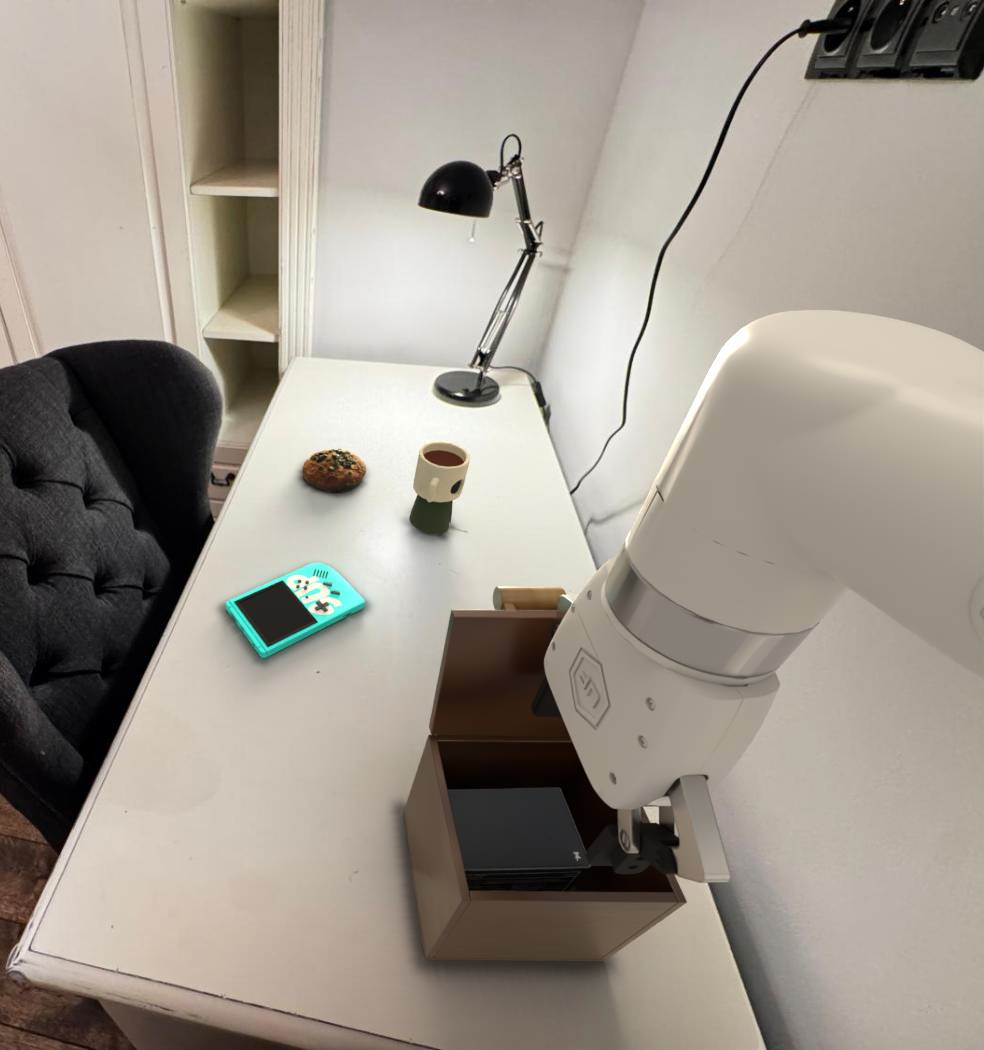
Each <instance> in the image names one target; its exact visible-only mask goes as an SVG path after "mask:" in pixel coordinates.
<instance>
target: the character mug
mask: <svg viewBox="0 0 984 1050" xmlns="http://www.w3.org/2000/svg"><path fill="white" fill-rule="evenodd" d="M417 456H418V457H417V462H416V466H415V472H414V477H413V484H412V488H413V490H414V492H415V493H416V494H417V495H416V497H415V499H414V502H413V505H412V507H411V509H410V510H411V511H410V514H409V517H408V520H409V522H410V523H409V524H410V525H412V526H413V527H414V528H415V529H416V530H419V531H421V532H423V533H426V534H430V535H433V536H434V535H442V534H444V533H446V532H447V531H449V529H450V525H451V523H452V515H453V504H454V503H453V501H455V500H457V499H459V498H460V496H461V494H462V493H463V490H464V485H465V482H466V478H467V477H466V476H467V473H468V470H469V465H470V463H471V456H470V453H469V452H468V451H467V449H465V448H464V447H462V446H460V445H459V444H456V443H452V442H450V441H443V440H439V441H437V440H436V441H430V442H426V443H424V444H423V445H422V446H421V447H420V448H419V451H418V455H417Z"/></svg>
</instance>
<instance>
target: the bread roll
mask: <svg viewBox="0 0 984 1050" xmlns="http://www.w3.org/2000/svg"><path fill="white" fill-rule="evenodd" d="M366 473H367V465H366V463H365V461H363V460H362V458H361V457H359V456H358V455H357V454H356V453H353V452H352V451H350V450H345V449H342V448H338V449H334V448H331V449H324V450H319V451H317V452H315V453H312V454H311V455H310V456H309V457H308V458H307V459H306V460H305V461H304V463H303V466H302V470H301V474H302V476H303V479H304V480H305V481H306V482H307V483H308V484H310V485H311V486H314V487H315V488H318V489H320V490H322V491H326V492H328V493H332V494H340V493H344V492H347V491H350V490H352V489H353V488H355V487H357V486H358V485H359V484H360V483H361V482H362V480H363V478H364V477H365V475H366Z"/></svg>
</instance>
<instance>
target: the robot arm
mask: <svg viewBox="0 0 984 1050" xmlns="http://www.w3.org/2000/svg"><path fill="white" fill-rule="evenodd" d="M849 590H851V591H853V592H854V593H855V594H857V595H858V596H859V597H861V598H862V599H864V600H865V601H867V602H868V603H870V604H871V605H873V606H874V607H875V608H877V609H878V610H880V612H882V613H884V614H885V615H886V616H888V617H889V618H891V619H892V620H893V621H895V622H896V623H897V624H899V625H900V626H902V627H903V628H905V629H906V630H908V631H909V632H910V633H912V634H914V635H915V636H916V637H917V638H918V639H920V640H922V641H923V642H924V643H926V644H927V645H929V646H930V647H932V648H933V649H935V650H937V651H938V652H939V653H941V654H942V655H944V656H945V657H946V658H948V659H950V660H951V661H952V662H954V663H955V664H958V665H959V666H961V667H962V668H964V669H966V670H967V671H969V672H971V673H972V674H974V675H976V676H978V677H980V678H981V679H983V680H984V350H982V349H980V348H978V347H977V346H974V345H972V344H970V343H968V342H966V341H965V340H963V339H960V338H958V337H956V336H953V335H951V334H948V333H945V332H943V331H940V330H937V329H935V328H931V327H927V326H925V325H921V324H917V323H914V322H909V321H906V320H901V319H896V318H892V317H887V316H881V315H877V314H871V313H864V312H856V311H845V310H836V309H835V310H833V309H804V310H803V309H802V310H788V311H780V312H776V313H772V314H769V315H765V316H763V317H760V318H757V319H755V320H753V321H751V322H749V323H748V324H746V325H745V326H743V327H741V328H740V329H739V330H738V331H737V332H736V333H735V334H733V335H732V336H731V337H730V338H729V340H727V341H726V343H725V344H724V345H723V346H722V348H721V349H720V351H719V353H718V354H717V356H716V358H715V360H714V362H713V363H712V365H711V367H710V369H709V370H708V372H707V375H706V376H705V378H704V380H703V382H702V384H701V386H700V388H699V390H698V392H697V395H696V397H695V398H694V400H693V403H692V404H691V407H690V408H689V410H688V413H687V414H686V417H685V419H684V421H683V423H682V425H681V426H680V428H679V431H678V433H677V435H676V437H675V439H674V440H673V443H672V444H671V447H670V449H669V451H668V453H667V455H666V457H665V459H664V461H663V463H662V465H661V467H660V469H659V471H658V473H657V475H656V477H655V479H654V481H653V483H652V485H651V488H650V490H649V492H648V494H647V496H646V498H645V500H644V502H643V504H642V506H641V508H640V510H639V512H638V514H637V516H636V519H635V520H634V523H633V525H632V527H631V528H630V530H629V532H628V534H627V537H626V538H625V540H624V542H623V544H622V546H621V548H620V550H619V551H618V554H617V555H616V556H613V557H611V558H610V559H608V560H607V561H605V563H604V564H602V565H601V566H600V567H599V569H597V571H595V572H594V574H593V575H592V576H591V577H590V578H589V580H588V581H587V582H586V583H585V584H584V586H583V587H582V589H581V590H580V592H579V593H578V594H566V595H560V596H559V598H558V606H557V616H556V620H557V621H558V625H554V626H553V628H552V630H551V636H552V641H551V643H550V645H549V647H548V649H547V652H546V655H545V658H544V668H545V673H546V676H545V677H544V679H543V681H542V683H541V686H540V688H539V690H538V692H537V694H536V696H535V698H534V700H533V702H532V705H531V709H532V712H533V714H534V715H536V716H537V717H562V718H563V720H564V723H565V725H566V728H567V730H568V732H569V735H570V737H571V740H572V742H573V744H574V747H575V749H576V751H577V754H578V756H579V758H580V761H581V763H582V765H583V768H584V770H585V772H586V774H587V776H588V779H589V781H590V783H591V784H592V786H593V788H594V790H595V791H596V792H597V794H598V795H599V797H600V798H601V799H602V800H603V801H604V802H605V803H606V804H607V805H608V806H610V807H611V808H614V809H618V824H611V825H608V826H606V827H605V828H604V830H603V831H602V832H601V833H600V835H599V836H598V837H597V838H596V840H595V841H594V842H593V843H592V844H591V846H590V847H589V848H588V849H587V853H586V857H587V859H588V862H589V864H590V865H591V866H613V868H614V871H615V873H618V874H635V873H639V872H642V871H644V870H645V869H646V868H647V867H648V866H649V865H650V864H651V865H653V866H654V867H655V868H657V869H658V870H659V871H660V872H662V873H663V874H673V875H675V877H676V876H677V877H678V878H680V879H684V880H688V881H692V882H695V883H699V884H700V883H701V884H728V883H730V882H731V878H732V874H731V870H730V865H729V862H728V858H727V854H726V851H725V847H724V843H723V838H722V836H721V831H720V827H719V825H718V819H717V817H716V813H715V809H714V805H713V802H712V798H711V794H712V793H713V792H714V791H715V790H716V789H717V788H718V787H719V786H720V785H721V783H722V782H723V781H724V780H725V779H726V778H727V776H728V775H729V774H730V773H731V772H732V770H734V767H735V766H736V765H737V764H738V762H739V761H740V759H741V758H742V757H743V756H744V754H745V753H746V751H747V749H748V748H749V747H750V745H751V744H752V742H753V740H754V739H755V737H756V735H757V734H758V732H759V731H760V729H761V727H762V725H763V723H764V721H765V720H766V717H767V716H768V713H769V712H770V710H771V708H772V706H773V703H774V702H775V699H776V696H777V694H778V692H779V690H780V686H781V682H780V679H779V677H778V675H777V671H778V670H779V668H781V666H782V665H783V664H784V663H785V662H786V661H787V660H788V659H789V658H790V657H791V655H792V654H793V653H794V652H796V650H797V648H799V647H800V645H801V644H802V643H803V642H804V641H805V639H806V638H807V637H808V636H809V635H810V634H811V633H812V632H813V631H814V629H816V627H817V626H818V625H819V624H820V623H821V621H822V620H823V619H825V617H826V616H827V615H828V613H829V612H830V611H831V610H833V608H834V607H835V606H836V605H837V603H839V601H840V600H841V599H842V598H843V597H844V596H845V595H846V593H847V592H848V591H849ZM641 807H643V808H644V807H647V808H648V807H650V808H651V807H653V808H654V807H658V822H650V823H641Z"/></svg>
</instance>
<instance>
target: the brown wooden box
mask: <svg viewBox="0 0 984 1050" xmlns="http://www.w3.org/2000/svg"><path fill="white" fill-rule="evenodd" d="M551 787H559V788H560V789H561V791H562V793H563V796H564V798H565V801H566V803H567V806H568V808H569V810H570V813H571V816H572V818H573V820H574V823H575V826H576V828H577V831H578V833H579V835H580V838H581V841H582V843H583V846H584V848H585V851H586V853H587V849H588V848H589V847H590V846H591V844H592V843H593V842H594V841H595V840H596V838H597V837H598V836H599V835H600V833H601V832H602V831H603V830H604V828H605V827H606V826H608V825H611V824H618V809H614V808H611V807H610V806H608V805H607V804H606V803H605V802H604V801H603V800H602V799H601V798H600V797H599V795H598V794H597V792H596V791H595V790H594V788H593V786H592V784H591V783H590V781H589V779H588V776H587V774H586V772H585V770H584V768H583V765H582V763H581V761H580V758H579V756H578V754H577V751H576V749H575V747H574V744H573V742H572V740H571V737H570V736H529V735H431V733H429V734H428V736H427V739H426V741H425V744H424V748H423V750H422V753H421V757H420V760H419V762H418V766H417V769H416V772H415V775H414V779H413V782H412V784H411V787H410V790H409V793H408V796H407V800H406V803H405V806H404V810H403V812H402V813H403V819H404V826H405V833H406V840H407V846H408V847H407V848H408V854H409V860H410V867H411V873H412V880H413V887H414V893H415V901H416V907H417V913H418V914H417V915H418V921H419V927H420V934H421V941H422V946H423V947H422V948H423V954H424V959H425V960H426V961H427V960H428V961H429V960H430V961H523V962H524V961H526V962H527V961H528V962H529V961H530V962H531V961H533V962H536V961H537V962H538V961H539V962H540V961H542V962H545V961H546V962H606V961H607V960H609V958H611V957H612V956H614V955H615V954H617V953H618V952H619V951H621V950H623V949H624V948H625V947H627V946H628V945H630V944H631V943H633V942H634V941H635V940H636V939H638V938H639V937H641V936H642V935H643V934H645V933H647V932H648V931H649V930H651V929H653V927H655V926H656V925H658V924H659V923H661V922H662V921H663V920H665V919H666V918H667V917H669V916H670V915H672V914H673V913H674V912H676V911H677V910H679V909H680V908H681V907H683V906H684V905H686V904H687V903H688V901H687V898H686V896H685V894H684V892H683V890H682V887H681V886H680V883H679V881H678V879H677V877H676V875H673V874H663V873H662V872H660V871H659V870H658V869H657V868H655V867H654V866H653V865H651V864H650V865H649V866H648V867H647V868H646V869H645V870H644V871H642V872H639V873H635V874H618V873H615V871H614V868H613V866H591V867H590V868H589V869H588V870H587V871H586V872H585V873H584V875H583V876H582V877H581V878H580V879H579V880H578V881H577V883H576V884H575V885H574V886H573V887H572V888H571V889H570V890H569V891H469V889H468V884H467V879H466V874H465V870H464V865H463V860H462V856H461V851H460V846H459V842H458V837H457V832H456V827H455V823H454V818H453V813H452V809H451V804H450V799H449V794H448V790H471V789H514V788H551ZM646 812H647V811H646V810H645V808H644V807H641V823H651V821H650V818H649V817H648V815H647V813H646Z"/></svg>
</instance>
